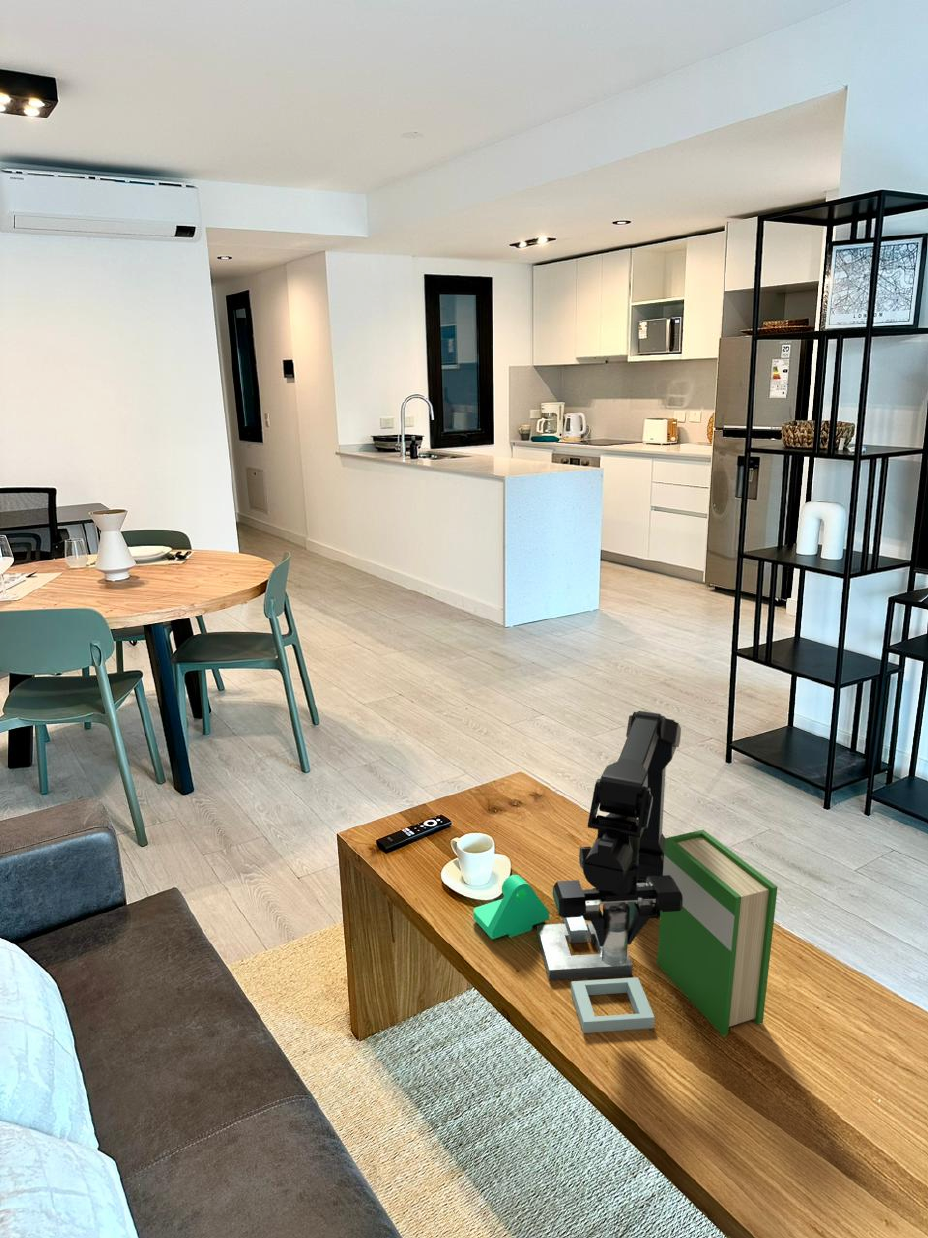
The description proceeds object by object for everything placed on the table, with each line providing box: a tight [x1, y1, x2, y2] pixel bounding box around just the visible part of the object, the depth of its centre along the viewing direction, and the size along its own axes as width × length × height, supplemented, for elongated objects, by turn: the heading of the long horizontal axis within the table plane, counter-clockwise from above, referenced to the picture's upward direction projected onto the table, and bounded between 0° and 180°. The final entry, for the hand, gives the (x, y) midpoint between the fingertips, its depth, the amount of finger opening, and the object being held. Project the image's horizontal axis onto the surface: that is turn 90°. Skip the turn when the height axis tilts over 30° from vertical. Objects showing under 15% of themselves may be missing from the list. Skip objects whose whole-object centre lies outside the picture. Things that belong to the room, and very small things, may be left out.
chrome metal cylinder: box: [601, 902, 630, 966], centre depth 129 cm, size 4×4×9 cm
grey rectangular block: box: [561, 916, 588, 944], centre depth 152 cm, size 3×8×2 cm, turn 5°
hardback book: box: [656, 829, 778, 1037], centre depth 133 cm, size 18×7×24 cm, turn 21°
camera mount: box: [473, 874, 550, 940], centre depth 153 cm, size 12×8×10 cm, turn 118°
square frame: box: [570, 976, 656, 1034], centre depth 132 cm, size 11×9×2 cm
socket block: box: [536, 921, 634, 981], centre depth 145 cm, size 14×12×2 cm
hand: (614, 943), depth 129 cm, fingers closed on chrome metal cylinder, 4 cm apart
